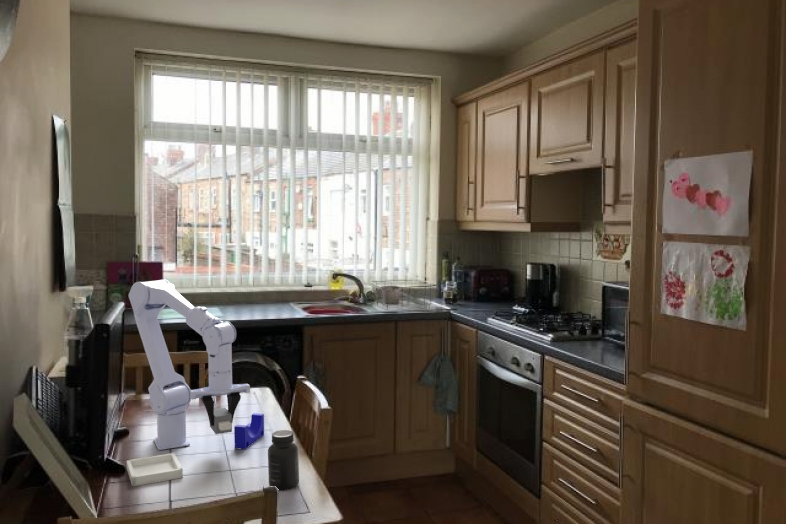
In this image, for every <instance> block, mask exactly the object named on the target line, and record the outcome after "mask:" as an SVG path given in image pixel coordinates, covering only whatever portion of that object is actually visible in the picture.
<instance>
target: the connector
mask: <svg viewBox="0 0 786 524" xmlns="http://www.w3.org/2000/svg"><path fill="white" fill-rule="evenodd" d="M209 427H210V428H211V430H212V431H213V432H214V434H215V435H219V434H220V435H221V434H226V433H227V434H228V433H233V423H232V415H231V413H230V412H229V411H228V408H227V407H221V408H219V407H218V408H214V426H211V425H210V424H209Z"/></svg>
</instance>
